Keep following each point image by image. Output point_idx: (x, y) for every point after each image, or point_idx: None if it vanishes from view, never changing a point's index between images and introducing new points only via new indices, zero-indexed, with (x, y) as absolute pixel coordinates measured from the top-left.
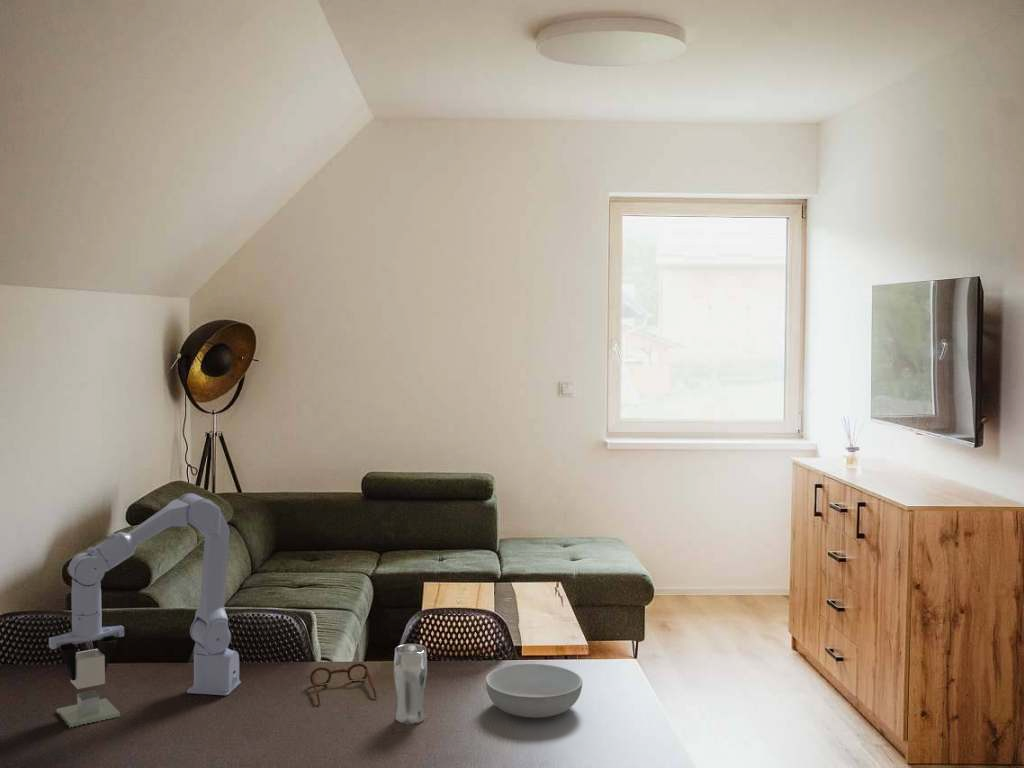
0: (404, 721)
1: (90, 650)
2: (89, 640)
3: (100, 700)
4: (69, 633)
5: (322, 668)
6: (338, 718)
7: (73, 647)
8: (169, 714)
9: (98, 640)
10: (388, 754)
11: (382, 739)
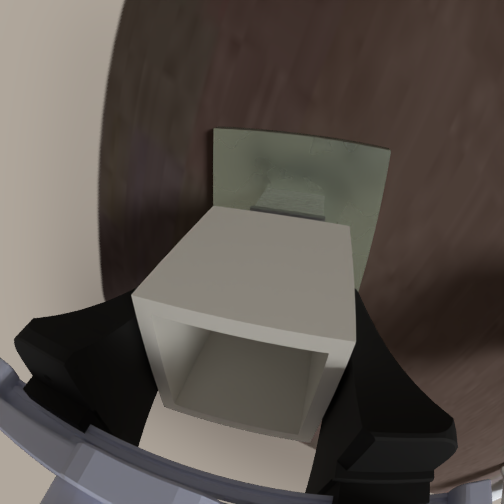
0: (500, 469)
1: (288, 345)
2: (216, 486)
3: (366, 157)
4: (32, 449)
5: None
6: (501, 447)
7: (116, 435)
8: (434, 349)
9: (354, 429)
10: (438, 489)
11: (464, 478)
